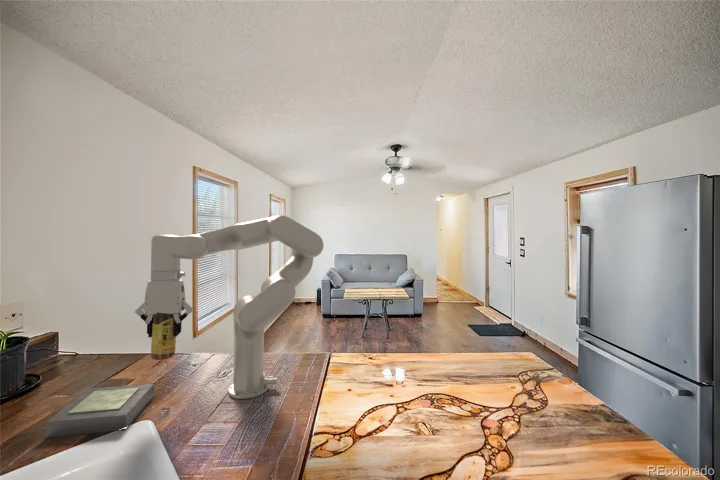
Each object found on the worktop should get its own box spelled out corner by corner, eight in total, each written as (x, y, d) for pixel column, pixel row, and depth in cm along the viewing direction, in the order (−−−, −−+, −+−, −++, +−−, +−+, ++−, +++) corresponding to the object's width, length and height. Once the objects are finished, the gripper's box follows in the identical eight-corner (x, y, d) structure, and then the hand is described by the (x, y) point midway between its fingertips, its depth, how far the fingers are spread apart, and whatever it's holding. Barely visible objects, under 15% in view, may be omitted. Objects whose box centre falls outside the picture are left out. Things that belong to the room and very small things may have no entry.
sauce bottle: (164, 362, 94) (165, 293, 93) (145, 359, 95) (146, 292, 95) (180, 354, 100) (182, 289, 100) (163, 352, 101) (164, 288, 101)
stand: (153, 396, 104) (153, 382, 104) (126, 429, 86) (126, 413, 86) (88, 401, 100) (88, 387, 100) (45, 437, 82) (45, 420, 82)
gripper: (200, 274, 103) (198, 331, 103) (138, 274, 99) (137, 333, 99) (193, 277, 95) (191, 338, 96) (126, 277, 92) (125, 341, 92)
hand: (164, 335), depth 97 cm, fingers closed on sauce bottle, 6 cm apart
